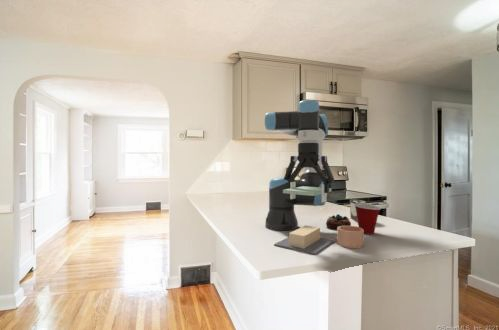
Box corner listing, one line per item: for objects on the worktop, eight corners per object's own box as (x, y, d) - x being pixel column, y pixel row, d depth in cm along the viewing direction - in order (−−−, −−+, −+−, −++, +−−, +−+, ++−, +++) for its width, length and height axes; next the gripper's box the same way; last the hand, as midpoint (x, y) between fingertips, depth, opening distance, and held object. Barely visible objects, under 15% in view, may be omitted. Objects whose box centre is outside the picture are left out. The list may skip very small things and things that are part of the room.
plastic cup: (384, 237, 113) (384, 207, 113) (356, 235, 115) (356, 206, 115) (377, 230, 124) (377, 203, 123) (352, 228, 126) (352, 202, 125)
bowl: (333, 245, 102) (334, 229, 102) (341, 239, 109) (342, 224, 109) (359, 250, 97) (359, 233, 97) (365, 243, 104) (366, 227, 104)
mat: (274, 245, 102) (274, 232, 102) (296, 234, 116) (296, 222, 116) (315, 254, 92) (315, 239, 92) (334, 241, 107) (334, 228, 106)
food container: (370, 223, 136) (371, 203, 136) (358, 223, 136) (358, 203, 136) (361, 217, 148) (361, 199, 148) (349, 217, 149) (349, 199, 148)
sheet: (282, 193, 101) (282, 189, 101) (303, 189, 113) (303, 186, 113) (313, 195, 93) (313, 192, 93) (331, 191, 106) (331, 188, 106)
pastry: (326, 229, 125) (326, 216, 125) (326, 223, 136) (326, 211, 136) (352, 231, 122) (352, 218, 122) (349, 225, 134) (349, 213, 133)
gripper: (275, 143, 107) (275, 198, 108) (336, 140, 93) (335, 205, 93) (285, 143, 113) (285, 196, 114) (344, 141, 98) (343, 202, 99)
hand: (307, 200), depth 104 cm, fingers closed on sheet, 12 cm apart
